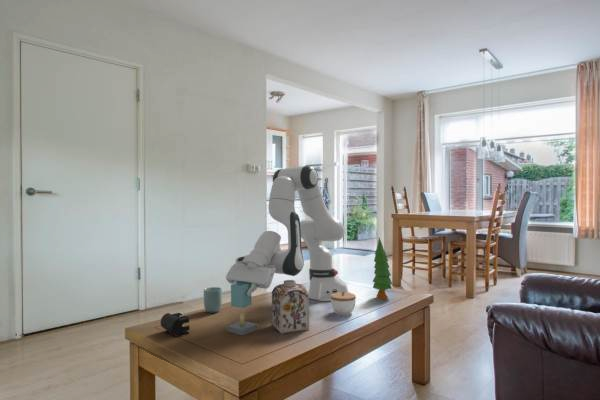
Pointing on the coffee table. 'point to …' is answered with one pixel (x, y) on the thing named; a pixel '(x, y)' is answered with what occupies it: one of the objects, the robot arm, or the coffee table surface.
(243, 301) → the collar
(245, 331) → the shaft block
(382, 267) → the decorative tree
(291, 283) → the decorative jar
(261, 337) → the coffee table surface
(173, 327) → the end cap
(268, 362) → the coffee table surface
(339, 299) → the lidded jar
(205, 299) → the cup
